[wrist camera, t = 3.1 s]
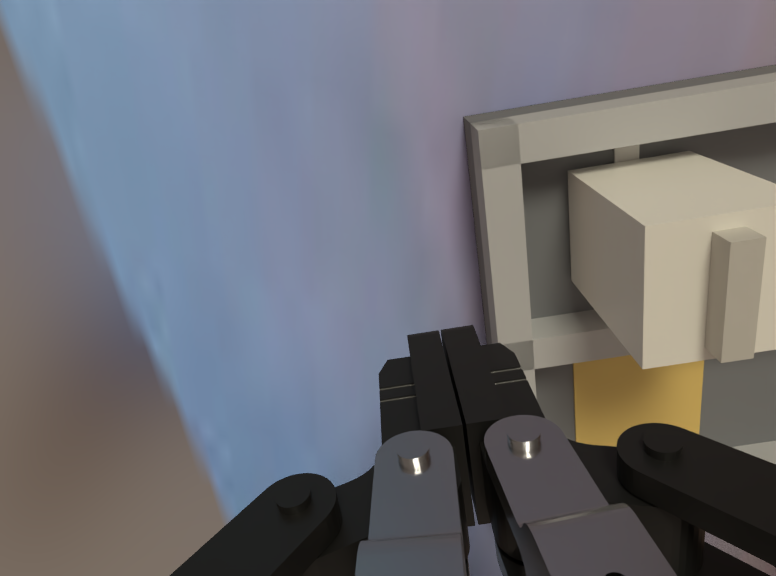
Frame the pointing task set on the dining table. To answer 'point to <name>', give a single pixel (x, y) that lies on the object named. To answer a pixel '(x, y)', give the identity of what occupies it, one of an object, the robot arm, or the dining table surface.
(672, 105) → the switch bank
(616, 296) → the tab
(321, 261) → the dining table surface
